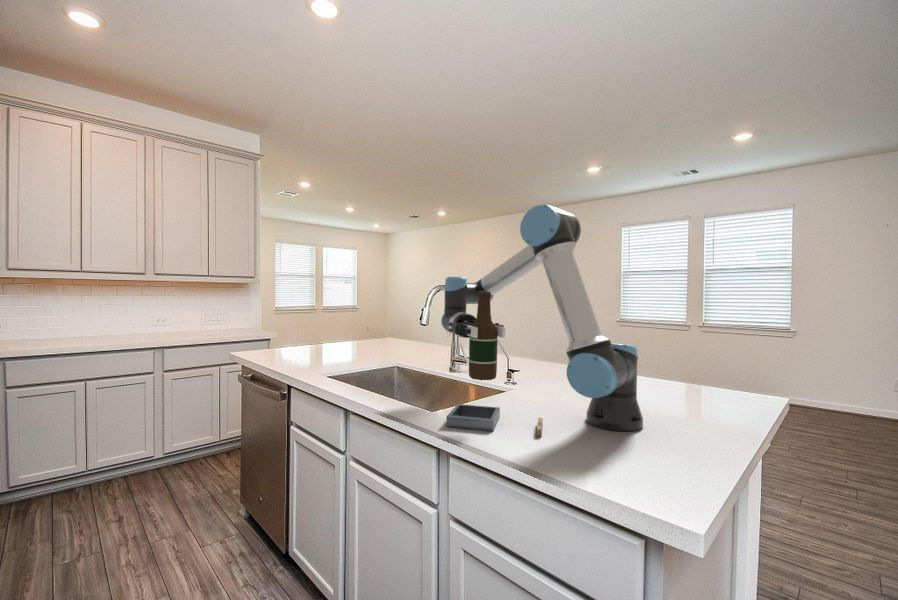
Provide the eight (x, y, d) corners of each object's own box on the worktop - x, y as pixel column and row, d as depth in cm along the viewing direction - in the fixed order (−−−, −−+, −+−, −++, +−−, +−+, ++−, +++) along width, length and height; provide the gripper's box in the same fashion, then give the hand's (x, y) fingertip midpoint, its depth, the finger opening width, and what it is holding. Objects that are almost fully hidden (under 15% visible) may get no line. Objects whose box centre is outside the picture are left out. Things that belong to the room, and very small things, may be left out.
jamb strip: (538, 424, 114) (538, 417, 114) (542, 425, 114) (542, 418, 114) (536, 436, 105) (536, 429, 105) (541, 437, 104) (541, 429, 104)
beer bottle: (495, 381, 108) (497, 291, 107) (466, 379, 109) (468, 290, 108) (497, 375, 115) (499, 291, 115) (470, 373, 117) (472, 290, 116)
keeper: (499, 417, 121) (499, 407, 121) (493, 431, 108) (493, 420, 108) (457, 413, 124) (457, 404, 124) (446, 427, 111) (446, 416, 111)
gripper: (492, 336, 132) (524, 346, 110) (432, 337, 127) (453, 347, 104) (493, 313, 132) (524, 318, 110) (433, 313, 126) (454, 318, 104)
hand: (490, 332), depth 107 cm, fingers closed on beer bottle, 7 cm apart
